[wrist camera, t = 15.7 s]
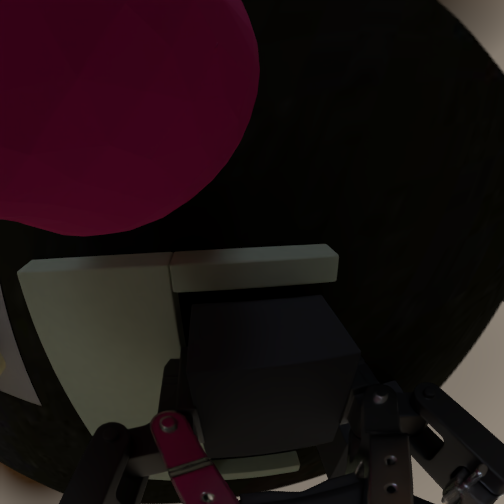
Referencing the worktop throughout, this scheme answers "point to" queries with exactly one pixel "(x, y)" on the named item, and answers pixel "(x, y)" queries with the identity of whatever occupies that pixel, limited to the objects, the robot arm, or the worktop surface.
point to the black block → (341, 446)
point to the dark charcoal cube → (268, 374)
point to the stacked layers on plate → (12, 362)
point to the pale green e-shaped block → (148, 325)
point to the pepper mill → (118, 107)
